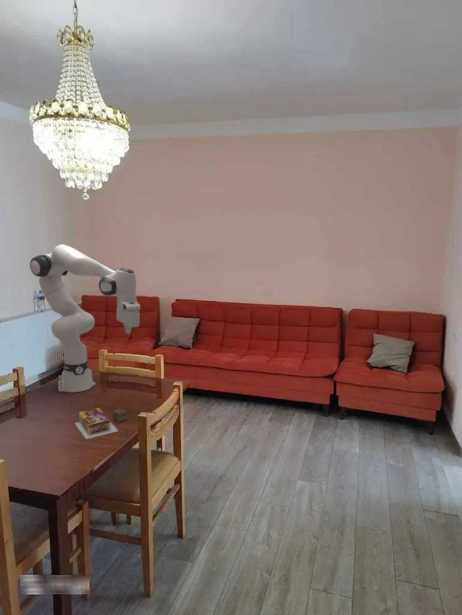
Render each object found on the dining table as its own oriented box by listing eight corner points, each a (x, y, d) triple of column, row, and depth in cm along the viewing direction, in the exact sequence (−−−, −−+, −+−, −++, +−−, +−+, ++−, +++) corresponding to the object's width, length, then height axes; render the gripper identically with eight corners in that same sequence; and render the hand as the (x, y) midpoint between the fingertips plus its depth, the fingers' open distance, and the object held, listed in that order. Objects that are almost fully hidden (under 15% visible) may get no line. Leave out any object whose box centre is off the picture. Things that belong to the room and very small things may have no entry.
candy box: (79, 421, 184) (88, 434, 172) (78, 411, 184) (87, 424, 171) (99, 416, 189) (110, 429, 176) (99, 407, 188) (109, 419, 176)
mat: (74, 424, 182) (74, 423, 182) (105, 417, 189) (105, 416, 189) (86, 439, 168) (86, 438, 168) (118, 431, 175) (118, 430, 175)
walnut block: (113, 419, 187) (112, 411, 186) (121, 417, 190) (120, 408, 189) (118, 422, 184) (118, 413, 184) (126, 419, 187) (126, 410, 186)
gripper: (112, 301, 205) (113, 329, 207) (128, 307, 188) (129, 338, 190) (125, 300, 208) (126, 328, 211) (141, 306, 192) (142, 336, 194)
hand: (127, 333), depth 200 cm, fingers closed
